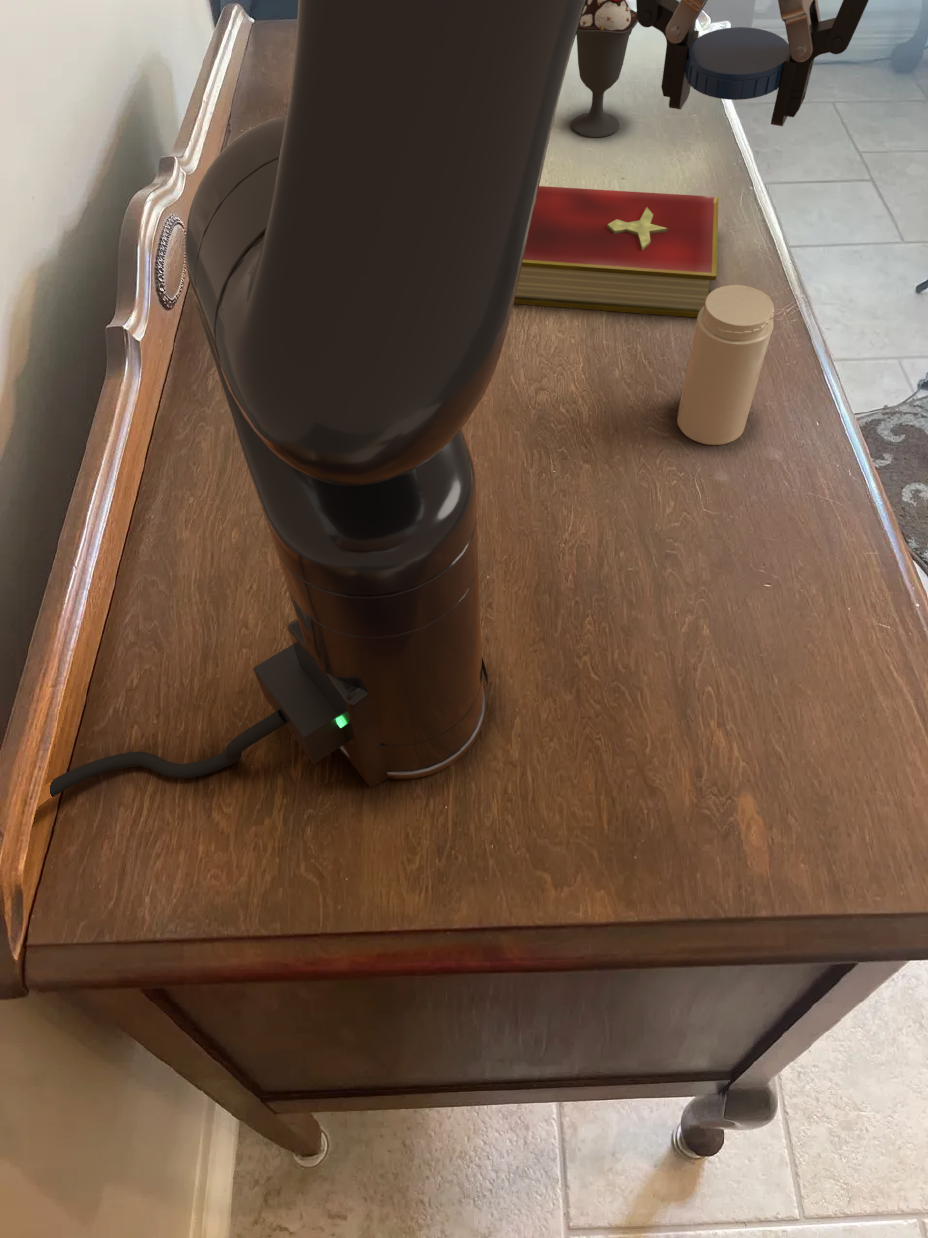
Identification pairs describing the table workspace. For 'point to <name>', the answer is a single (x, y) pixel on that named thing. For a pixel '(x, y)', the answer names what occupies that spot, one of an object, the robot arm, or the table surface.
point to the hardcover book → (620, 251)
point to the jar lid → (736, 63)
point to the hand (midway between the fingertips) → (728, 109)
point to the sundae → (601, 59)
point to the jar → (725, 364)
